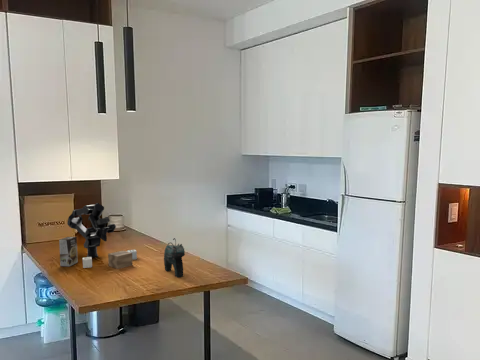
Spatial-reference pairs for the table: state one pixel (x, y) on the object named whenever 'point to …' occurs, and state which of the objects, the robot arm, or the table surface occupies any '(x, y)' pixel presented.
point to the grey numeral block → (133, 253)
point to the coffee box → (68, 251)
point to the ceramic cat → (174, 258)
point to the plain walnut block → (120, 259)
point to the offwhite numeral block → (87, 262)
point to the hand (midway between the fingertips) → (106, 240)
